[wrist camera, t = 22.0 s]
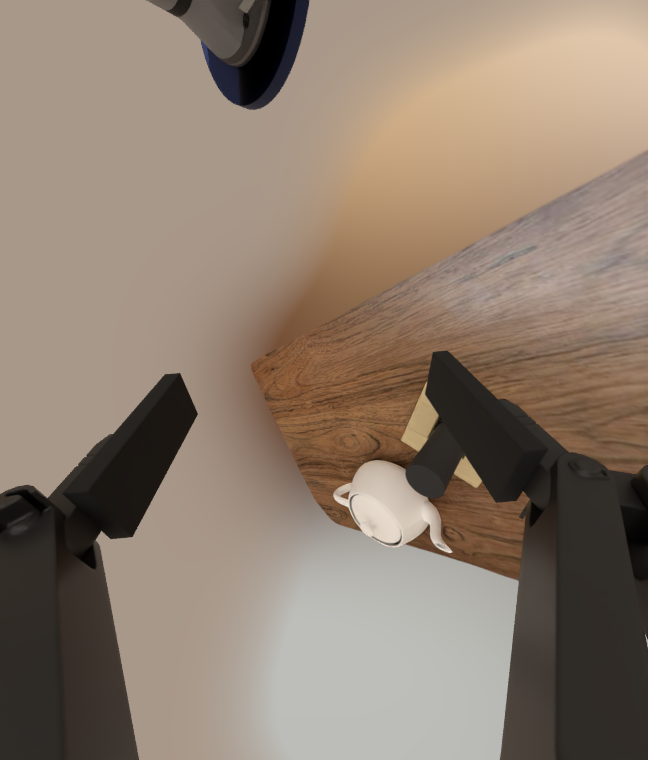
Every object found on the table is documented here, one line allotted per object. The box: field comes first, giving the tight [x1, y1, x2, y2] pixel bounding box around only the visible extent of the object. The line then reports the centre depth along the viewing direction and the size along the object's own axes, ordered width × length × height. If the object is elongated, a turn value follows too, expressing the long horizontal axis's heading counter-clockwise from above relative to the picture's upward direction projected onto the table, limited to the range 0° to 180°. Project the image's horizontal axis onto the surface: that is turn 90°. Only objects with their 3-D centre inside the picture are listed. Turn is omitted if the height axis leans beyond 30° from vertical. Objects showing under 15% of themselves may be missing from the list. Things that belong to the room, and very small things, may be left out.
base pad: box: [401, 382, 482, 488], centre depth 33 cm, size 11×11×3 cm
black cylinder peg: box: [405, 420, 464, 498], centre depth 30 cm, size 4×4×12 cm
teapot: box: [333, 460, 452, 553], centre depth 42 cm, size 22×14×11 cm, turn 113°
